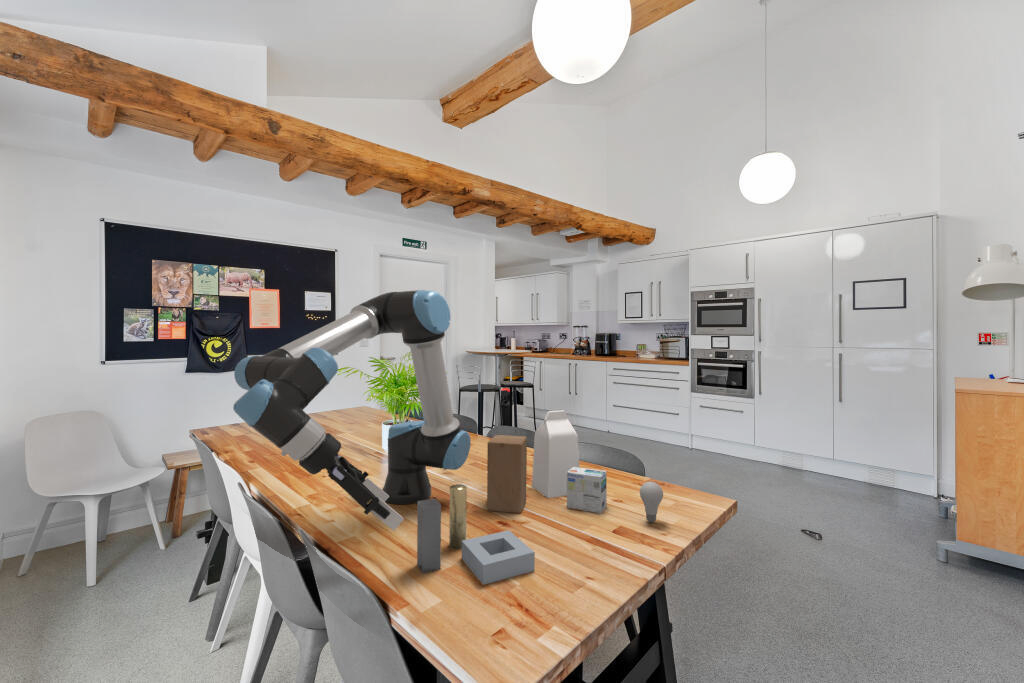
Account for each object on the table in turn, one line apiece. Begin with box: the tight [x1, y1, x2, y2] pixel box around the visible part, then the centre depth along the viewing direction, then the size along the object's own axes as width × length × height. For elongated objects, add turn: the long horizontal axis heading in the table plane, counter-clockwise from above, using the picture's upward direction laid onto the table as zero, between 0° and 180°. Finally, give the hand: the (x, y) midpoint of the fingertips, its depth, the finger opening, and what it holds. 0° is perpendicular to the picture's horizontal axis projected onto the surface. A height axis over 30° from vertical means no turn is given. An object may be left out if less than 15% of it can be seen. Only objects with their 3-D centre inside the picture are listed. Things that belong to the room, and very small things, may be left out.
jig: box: [461, 529, 536, 586], centre depth 96 cm, size 12×12×4 cm
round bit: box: [448, 484, 468, 550], centre depth 105 cm, size 4×4×14 cm
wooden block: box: [486, 434, 528, 514], centre depth 130 cm, size 10×10×20 cm
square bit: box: [416, 498, 442, 574], centre depth 95 cm, size 4×4×14 cm
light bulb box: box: [566, 467, 608, 514], centre depth 129 cm, size 11×7×11 cm, turn 65°
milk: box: [531, 410, 580, 499], centre depth 144 cm, size 12×12×26 cm
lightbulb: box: [639, 481, 664, 524], centre depth 119 cm, size 6×6×11 cm
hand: (391, 511), depth 90 cm, fingers open, 13 cm apart
